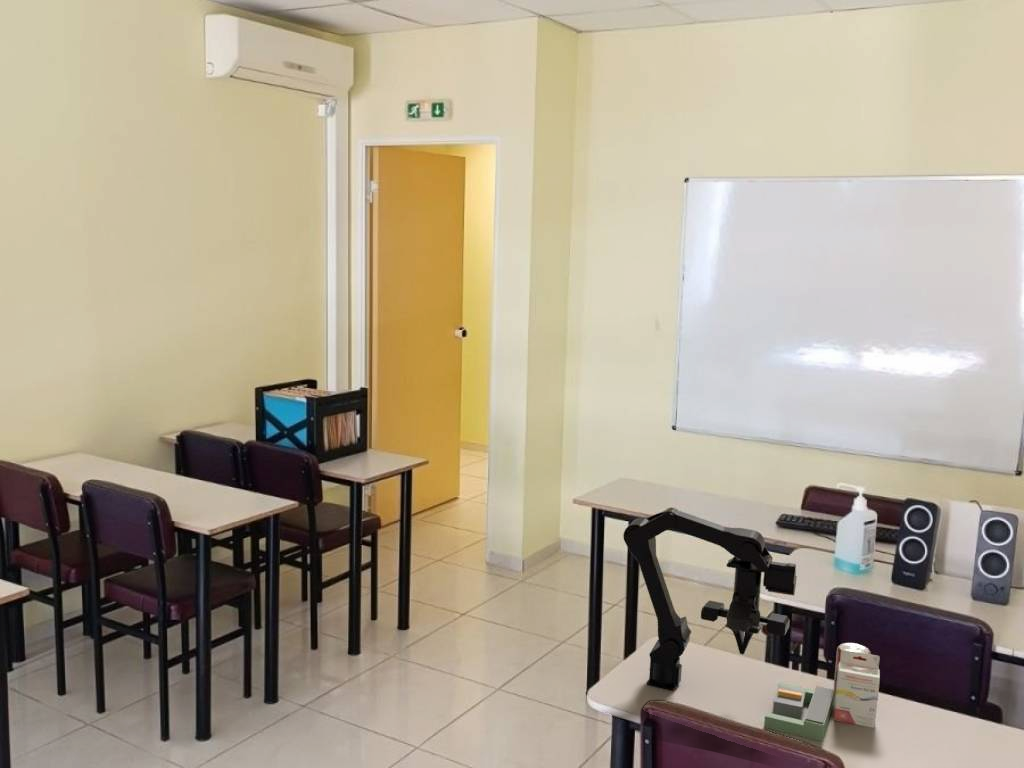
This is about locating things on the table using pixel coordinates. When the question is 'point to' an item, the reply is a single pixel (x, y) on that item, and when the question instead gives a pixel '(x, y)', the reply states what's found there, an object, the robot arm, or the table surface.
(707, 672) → the table surface
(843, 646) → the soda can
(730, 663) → the table surface
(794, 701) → the grey block orange top
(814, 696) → the green grey u-shaped block
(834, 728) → the table surface
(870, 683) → the ink cartridge box
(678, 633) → the robot arm
